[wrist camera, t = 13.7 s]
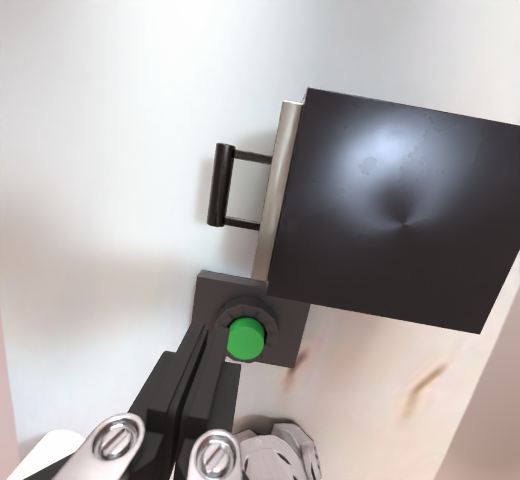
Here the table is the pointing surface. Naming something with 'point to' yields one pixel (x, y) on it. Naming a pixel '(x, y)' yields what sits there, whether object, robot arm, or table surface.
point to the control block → (251, 314)
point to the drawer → (273, 194)
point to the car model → (279, 454)
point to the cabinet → (398, 211)
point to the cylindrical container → (47, 452)
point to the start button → (245, 338)
